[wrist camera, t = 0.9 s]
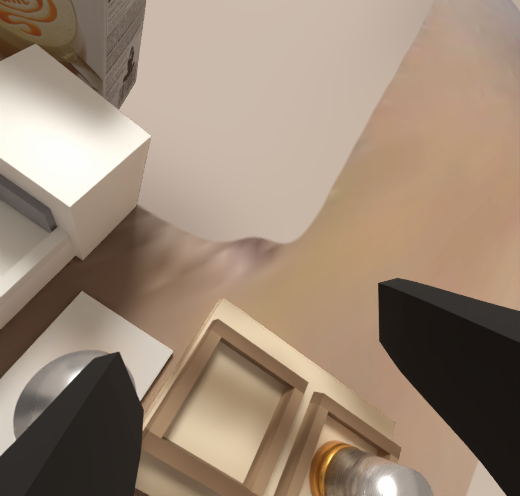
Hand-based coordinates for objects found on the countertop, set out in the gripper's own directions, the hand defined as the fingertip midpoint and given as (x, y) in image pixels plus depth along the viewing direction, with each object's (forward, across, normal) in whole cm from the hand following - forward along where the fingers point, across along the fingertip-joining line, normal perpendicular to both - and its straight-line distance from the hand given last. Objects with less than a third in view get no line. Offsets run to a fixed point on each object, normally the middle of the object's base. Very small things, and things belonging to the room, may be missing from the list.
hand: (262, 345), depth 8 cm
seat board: (+8, 0, +14) cm, 16 cm away
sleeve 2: (+6, -4, +17) cm, 18 cm away
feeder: (+13, +11, -2) cm, 17 cm away
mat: (+8, +10, +6) cm, 14 cm away
